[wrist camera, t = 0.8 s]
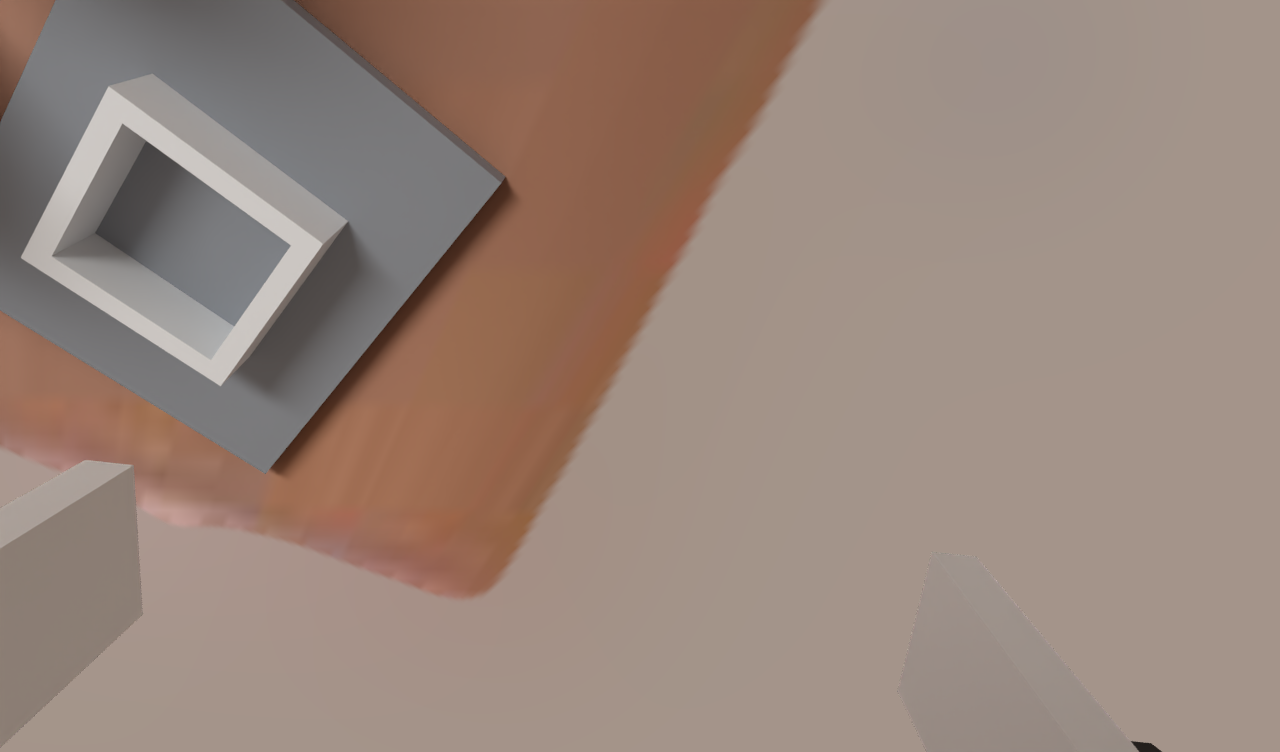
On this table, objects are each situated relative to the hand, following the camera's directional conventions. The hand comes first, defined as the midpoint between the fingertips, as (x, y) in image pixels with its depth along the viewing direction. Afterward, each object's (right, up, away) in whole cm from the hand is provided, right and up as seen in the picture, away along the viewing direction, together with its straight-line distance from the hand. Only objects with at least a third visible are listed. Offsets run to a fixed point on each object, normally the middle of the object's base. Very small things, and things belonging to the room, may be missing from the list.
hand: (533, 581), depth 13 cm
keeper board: (-18, +11, +24) cm, 32 cm away
